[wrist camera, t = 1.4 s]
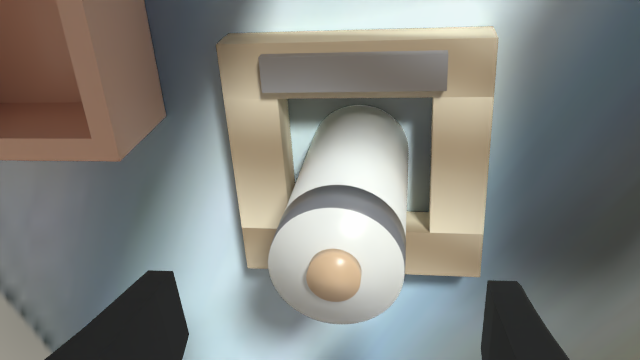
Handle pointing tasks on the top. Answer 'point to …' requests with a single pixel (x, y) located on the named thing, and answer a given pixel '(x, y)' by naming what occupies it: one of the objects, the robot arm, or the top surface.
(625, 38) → the top surface
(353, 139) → the cell
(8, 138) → the brown open square box
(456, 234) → the tan square frame
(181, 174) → the top surface
